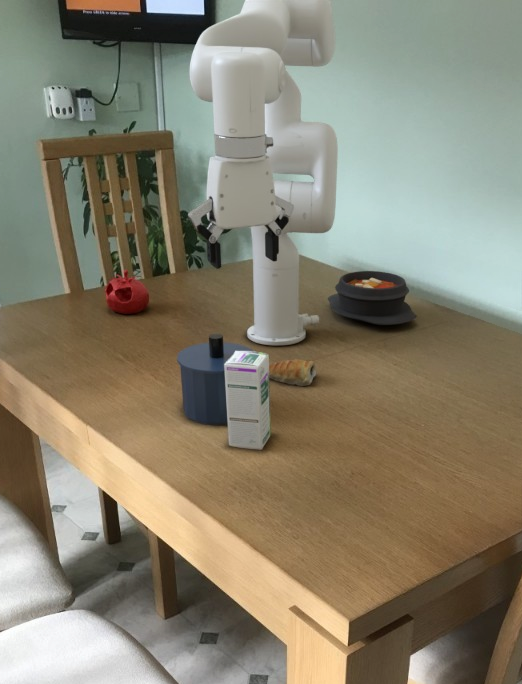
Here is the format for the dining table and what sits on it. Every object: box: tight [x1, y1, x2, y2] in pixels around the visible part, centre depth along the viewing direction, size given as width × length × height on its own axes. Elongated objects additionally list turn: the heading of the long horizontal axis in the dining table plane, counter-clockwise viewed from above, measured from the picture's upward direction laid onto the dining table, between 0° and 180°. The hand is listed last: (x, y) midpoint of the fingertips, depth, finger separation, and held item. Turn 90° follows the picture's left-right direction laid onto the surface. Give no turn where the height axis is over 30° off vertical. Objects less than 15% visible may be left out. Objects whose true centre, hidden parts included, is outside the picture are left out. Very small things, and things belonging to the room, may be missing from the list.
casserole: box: [327, 270, 417, 326], centre depth 187 cm, size 25×19×8 cm
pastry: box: [269, 358, 317, 387], centre depth 155 cm, size 9×7×4 cm
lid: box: [176, 333, 254, 374], centre depth 138 cm, size 13×13×5 cm
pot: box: [179, 365, 228, 426], centre depth 141 cm, size 12×13×10 cm
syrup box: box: [224, 350, 272, 451], centre depth 130 cm, size 6×6×14 cm
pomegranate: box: [104, 269, 150, 315], centre depth 187 cm, size 10×10×9 cm
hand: (243, 262), depth 130 cm, fingers open, 9 cm apart
